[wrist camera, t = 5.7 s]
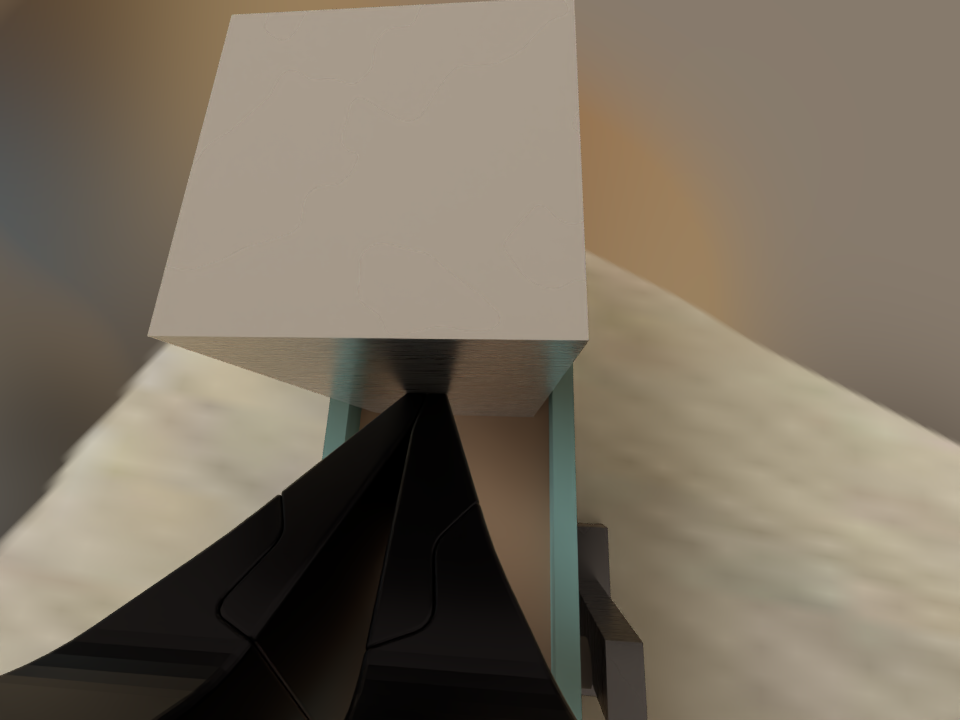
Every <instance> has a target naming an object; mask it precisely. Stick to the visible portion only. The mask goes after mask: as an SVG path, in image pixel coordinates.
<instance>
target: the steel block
mask: <svg viewBox="0 0 960 720" xmlns="http://www.w3.org/2000/svg"><path fill="white" fill-rule="evenodd" d="M577 76H578V75H577V53H576V29H575V6H574V0H501V1H484V2H464V3H445V4H426V5H408V6H389V7H371V8H353V9H352V8H351V9H332V10H314V11H294V12H276V13H259V14H258V13H257V14H240V15H239V14H238V15H232V17H231V21H230V24H229V28H228V32H227V36H226V40H225V43H224V47H223V51H222V55H221V58H220V63H219V66H218V70H217V74H216V77H215V81H214V85H213V89H212V92H211V96H210V100H209V104H208V108H207V111H206V115H205V119H204V123H203V127H202V130H201V134H200V138H199V142H198V146H197V149H196V153H195V157H194V161H193V165H192V168H191V172H190V176H189V180H188V184H187V187H186V191H185V195H184V199H183V203H182V206H181V211H180V214H179V218H178V222H177V225H176V229H175V233H174V237H173V240H172V244H171V249H170V252H169V256H168V260H167V263H166V267H165V271H164V275H163V279H162V282H161V286H160V290H159V294H158V297H157V301H156V305H155V309H154V313H153V316H152V320H151V324H150V328H149V332H148V335H147V336H149V337H152V338H155V339H158V340H161V341H164V342H167V343H170V344H173V345H176V346H179V347H182V348H185V349H188V350H191V351H194V352H197V353H200V354H203V355H206V356H209V357H212V358H214V359H217V360H220V361H223V362H226V363H229V364H232V365H235V366H238V367H241V368H244V369H247V370H250V371H253V372H256V373H259V374H262V375H265V376H268V377H271V378H274V379H277V380H280V381H283V382H286V383H289V384H292V385H295V386H298V387H301V388H304V389H307V390H310V391H312V392H315V393H318V394H321V395H324V396H327V397H330V398H333V399H336V400H339V401H342V402H345V403H348V404H351V405H354V406H357V407H360V408H363V409H366V410H369V411H372V412H375V413H382V412H383V411H385V410H386V409H387V408H389V407H390V406H391V405H392V404H394V403H395V402H396V401H397V400H399V399H400V398H401V397H402V396H404V395H405V394H406V393H426V394H428V393H441V394H447V395H448V399H449V402H450V405H451V409H452V412H453V415H471V416H512V417H534V415H535V414H536V413H537V411H538V410H539V409H540V407H541V406H542V404H543V403H544V402H545V400H546V399H547V397H548V396H549V395H550V393H551V392H552V391H553V389H554V388H555V386H556V385H557V384H558V382H559V381H560V380H561V378H562V377H563V375H564V374H565V373H566V371H567V370H568V369H569V367H570V366H571V364H572V363H573V362H574V360H575V359H576V357H577V356H578V355H579V353H580V352H581V351H582V349H583V348H584V346H585V345H586V344H587V342H588V341H589V331H588V308H587V285H586V261H585V239H584V215H583V194H582V193H583V192H582V170H581V146H580V122H579V98H578V77H577Z"/></svg>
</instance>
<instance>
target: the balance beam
mask: <svg viewBox="0 0 960 720" xmlns="http://www.w3.org/2000/svg"><path fill="white" fill-rule="evenodd" d="M380 414H381V413H375V412H372V411H369V410H366V409H363V408H360V407H357V406H354V405H351V404H348V403H345V402H342V401H339V400H336V399H333V398H330V405H329V413H328V420H327V427H326V435H325V442H324V449H323V457H322V460H323V459H324V458H325V457H327V456H328V455H329V454H330V453H332V452H333V451H334V450H335V449H337V448H338V447H339V446H340V445H342V444H343V443H344V442H345V441H347V440H348V439H349V438H351V437H352V436H353V435H354V434H356V433H357V432H358V431H359V430H361V429H362V428H363V427H364V426H366V425H367V424H368V423H370V422H371V421H372V420H373V419H375V418H376V417H377V416H378V415H380ZM454 419H455V422H456V425H457V429H458V432H459V435H460V439H461V442H462V445H463V449H464V452H465V456H466V459H467V462H468V466H469V469H470V472H471V476H472V479H473V482H474V486H475V489H476V492H477V496H478V499H479V504H480V506H481V508H482V512H483V515H484V518H485V522H486V525H487V528H488V531H489V534H490V537H491V539H492V542H493V545H494V548H495V551H496V553H497V555H498V558H499V560H500V563H501V565H502V567H503V570H504V572H505V574H506V577H507V579H508V581H509V583H510V586H511V588H512V590H513V592H514V594H515V596H516V598H517V601H518V603H519V605H520V607H521V609H522V611H523V613H524V615H525V618H526V620H527V622H528V624H529V626H530V628H531V630H532V633H533V635H534V637H535V639H536V641H537V643H538V645H539V648H540V650H541V652H542V654H543V656H544V658H545V660H546V662H547V664H548V666H549V668H550V670H551V672H552V674H553V676H554V678H555V680H556V682H557V684H558V686H559V688H560V690H561V692H562V694H563V696H564V698H565V699H566V701H567V703H568V705H569V707H570V708H571V710H572V712H573V714H574V715H575V717H576V719H577V720H582V701H581V688H583V689H591V687H592V663H591V654H590V648H589V644H588V640H587V638H586V637H582V636H580V624H579V585H578V546H577V508H576V469H575V431H574V392H573V363H572V364H571V366H570V367H569V369H568V370H567V371H566V373H565V374H564V375H563V377H562V378H561V380H560V381H559V382H558V384H557V385H556V386H555V388H554V389H553V391H552V392H551V393H550V395H549V396H548V397H547V399H546V400H545V402H544V403H543V404H542V406H541V407H540V409H539V410H538V411H537V413H536V414H535V415H534V417H512V416H471V415H454Z"/></svg>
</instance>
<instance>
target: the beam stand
mask: <svg viewBox="0 0 960 720" xmlns="http://www.w3.org/2000/svg"><path fill="white" fill-rule="evenodd" d="M577 546H578V585H579V624H580V636H582V637H586V638H587V640H588V644H589V648H590V654H591V663H592V687H591V689H583V688H581V695H588V696H597V698H598V701H599V704H600V706H601V709H602V712H603V714H604V717H605V720H647V705H646V688H645V671H644V654H643V642H642V641H641V640H640V638H639V637H638V636H637V634H636V633H635V631H634V630H633V629H632V627H631V626H630V625H629V623H628V622H627V620H626V619H625V618H624V616H623V615H622V613H621V612H620V611H619V609H618V608H617V607H616V605H615V604H614V602H613V601H612V600H611V598H610V575H609V552H608V528H607V527H606V526H604V525H603V524H588V523H577Z"/></svg>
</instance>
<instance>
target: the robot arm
mask: <svg viewBox="0 0 960 720" xmlns="http://www.w3.org/2000/svg"><path fill="white" fill-rule="evenodd" d="M281 495H282V496H281ZM281 495H277V496H276V497H274V498H273V499H272V500H271V501H269V502H268V503H267V504H266V505H264V506H263V507H262V508H260V509H259V510H258V511H257V512H255V513H254V514H253V515H251V516H250V517H249V518H247V519H246V520H245V521H243V522H242V523H241V524H239V525H238V526H237V527H235V528H234V529H233V530H232V531H230V532H229V533H228V534H226V535H225V536H223V537H222V538H220V539H219V540H218V541H216V542H215V543H213V544H212V545H211V546H209V547H208V548H206V549H205V550H203V551H202V552H201V553H199V554H198V555H196V556H195V557H194V558H192V559H191V560H189V561H188V562H186V563H185V564H183V565H182V566H180V567H179V568H178V569H176V570H175V571H173V572H172V573H170V574H169V575H167V576H166V577H164V578H163V579H161V580H160V581H159V582H157V583H156V584H154V585H153V586H151V587H150V588H148V589H147V590H145V591H144V592H143V593H141V594H140V595H138V596H137V597H135V598H134V599H132V600H131V601H129V602H128V603H126V604H125V605H124V606H122V607H121V608H119V609H118V610H116V611H115V612H113V613H112V614H110V615H109V616H107V617H106V618H105V619H103V620H102V621H100V622H99V623H97V624H96V625H94V626H93V627H91V628H90V629H88V630H87V631H85V632H84V633H82V634H81V635H79V636H77V637H76V638H74V639H73V640H71V641H69V642H68V643H66V644H64V645H62V646H61V647H59V648H57V649H55V650H54V651H52V652H50V653H48V654H46V655H44V656H42V657H40V658H38V659H36V660H34V661H33V662H31V663H29V664H27V665H24V666H22V667H19V668H17V669H15V670H12V671H10V672H8V673H5V674H3V675H1V676H0V720H577V719H576V717H575V715H574V714H573V712H572V710H571V708H570V707H569V705H568V703H567V701H566V699H565V698H564V696H563V694H562V692H561V690H560V688H559V686H558V684H557V682H556V680H555V678H554V676H553V674H552V672H551V670H550V668H549V666H548V664H547V662H546V660H545V658H544V656H543V654H542V652H541V650H540V648H539V645H538V643H537V641H536V639H535V637H534V635H533V633H532V630H531V628H530V626H529V624H528V622H527V620H526V618H525V615H524V613H523V611H522V609H521V607H520V605H519V603H518V601H517V598H516V596H515V594H514V592H513V590H512V588H511V586H510V583H509V581H508V579H507V577H506V574H505V572H504V570H503V567H502V565H501V563H500V560H499V558H498V555H497V553H496V551H495V548H494V545H493V542H492V539H491V537H490V534H489V531H488V528H487V525H486V522H485V518H484V515H483V512H482V508H481V506H480V504H479V499H478V496H477V492H476V489H475V486H474V482H473V479H472V476H471V472H470V469H469V466H468V462H467V459H466V456H465V452H464V449H463V445H462V442H461V439H460V435H459V432H458V429H457V425H456V422H455V419H454V415H453V412H452V409H451V405H450V402H449V399H448V395H447V394H441V393H428V394H426V393H406V394H405V395H404V396H402V397H401V398H400V399H399V400H397V401H396V402H395V403H394V404H392V405H391V406H390V407H389V408H387V409H386V410H385V411H383V412H382V413H381V414H380V415H378V416H377V417H376V418H375V419H373V420H372V421H371V422H370V423H368V424H367V425H366V426H364V427H363V428H362V429H361V430H359V431H358V432H357V433H356V434H354V435H353V436H352V437H351V438H349V439H348V440H347V441H345V442H344V443H343V444H342V445H340V446H339V447H338V448H337V449H335V450H334V451H333V452H332V453H330V454H329V455H328V456H327V457H325V458H324V459H323V460H321V461H320V462H319V463H318V464H316V465H315V466H314V467H313V468H311V469H310V470H309V471H308V472H306V473H305V474H304V475H302V476H301V477H300V478H299V479H297V480H296V481H295V482H294V483H292V484H291V485H290V486H289V487H287V488H286V489H285V490H283V491H282V493H281Z"/></svg>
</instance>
